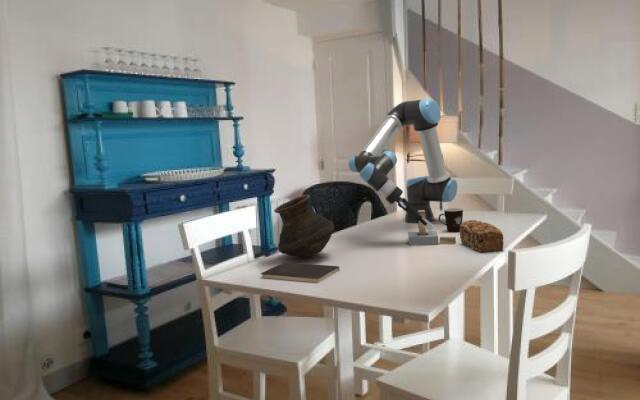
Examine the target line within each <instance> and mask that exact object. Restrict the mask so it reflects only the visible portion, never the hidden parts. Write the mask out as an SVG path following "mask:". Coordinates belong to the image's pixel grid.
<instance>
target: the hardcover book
mask: <svg viewBox="0 0 640 400" xmlns="http://www.w3.org/2000/svg"><path fill="white" fill-rule="evenodd" d="M339 271H340V266H339V265H328V264H315V263H314V264H313V263H312V264H311V263H298V262H288V261H287V262H286V261H285V262H282V263H279V264H278V265H276V266H274V267H271V268H268V269H267V270H264V271H262V272H261V273H260V274H261V276H262V278H263V279H272V280H273V279H274V280H283V281H296V282H310V283H320V282H322V281H324V280H326V279H327V278H329V277H331V276H332V275H334V274H336V273H337V272H339Z"/></svg>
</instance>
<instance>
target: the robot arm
mask: <svg viewBox="0 0 640 400" xmlns="http://www.w3.org/2000/svg"><path fill="white" fill-rule="evenodd" d="M441 114H442V112H441V108H440V106H439V104H438V102H437V101H436V100H435V99H432V98H431V99H430V98H429V99H427V98H423V99H416V100H415V99H414V100H407V101H402V102H400V103H399V104H397V105H395V106H394V107H393V108H392V109H391V110H389V112H388V113H387V114H386V115H385V117H384V118H383V123H382V124H381V126H379V128H378V129H377V130H376V132H375V133H374V134H373V135H372V137H371V139H369V141H368V142H367V144H366V145H365V146H364V147H363V149H362V150H361V151H360V153H359V154H358V155H353V156H351V157H350V158H349V160H348V168H349V169H350V170H349V171H351V172H352V173H359V176H360V178H361V179H362V180H363V181H364V182H365V183H366V184H368V185H369V186H370V188H372V189H374V191H376V192H377V193H378V196H382V197H383V198H384V199H385V200H386V201H387V202H388V203H389V204H390V205H393V204H394V203H395V202H396V203H397V206H398V208H401V209H402V210H403V211H404V212H405V215H404V221H405V222H407V223H413V224H414V223H415V224H416V223H417V224H419V223H420V224H421V225H422V226H424V227H425V228H426V231H429V232H430V231H433V230H434V229H435V227H434V225H433V224H432V223H431V222H433V221H435V215H434V212H433V210H432V207H431V202H433V203H434V202H436V203H437V202H438V203H439V202H441V203H450V202H452V201H453V200H455V198H456V196H457V193H458V182H457V180H456V179H455V178H452V177H451V174H450V173H449V172H448V171H447V169H446V166H445V161H444V157H443V153H442V149H441V144H440V141H439V136H438V130H437V127H438V126H439V122H440V120H441ZM406 126H412V127H413V130H414V132H417V133H418V137H419V141H420V144H421V149H422V152H423V157H424V161H425V164H426V168H427V173H428V175H426V176H419V177H412V178H409V179H407V181H406V196H407V197H406V198H405V197H402V195H403V192H404V191H403V190H402V189H401V188H400V187H398V186H396V184H395V183H394V182H393V181H392V180H391V179H390V178H389V177H388V176H387V175H388V174H389V173H390V172H391V170H393V168H395V166H396V165H397V162H398V158H397V155H396V154H395V153H394V152H392V151H390V150H385V151H383V150H384V148H385V147H386V146H387V145H388V144H389V142H390V140H392V138H393V136H394V135H395V134H396V133H397V132H399V131H400V130H401V129H402V128H404V127H406ZM382 151H383V152H382ZM421 210H425V219H424V218H423V217H422V216H420V215H419V214H418V211H421Z"/></svg>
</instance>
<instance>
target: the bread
mask: <svg viewBox="0 0 640 400" xmlns="http://www.w3.org/2000/svg"><path fill="white" fill-rule="evenodd" d="M459 231H460V232H459V238H460V241H461V245H465V247H468V248H470V249H471V250H474V251H477V252H478V253H488V252H500V251H503V249H504V244H505V243H504V233H503V232H502V231H501V229H499V228H497V227H496V226H494V225H492V224H491V223H488V222H485V221H481V220H476V219H474V220H473V219H471V220H470V219H469V220H466V221H462V224H461V225H460V229H459Z"/></svg>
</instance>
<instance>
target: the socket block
mask: <svg viewBox="0 0 640 400" xmlns="http://www.w3.org/2000/svg"><path fill="white" fill-rule="evenodd" d="M407 237H408V246H411V247H412V246H434V245H436V246H437V245H439V235H438V233H437V230H431V231H430V232H429V231H428V230H426V235H419V231H408V232H407Z"/></svg>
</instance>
